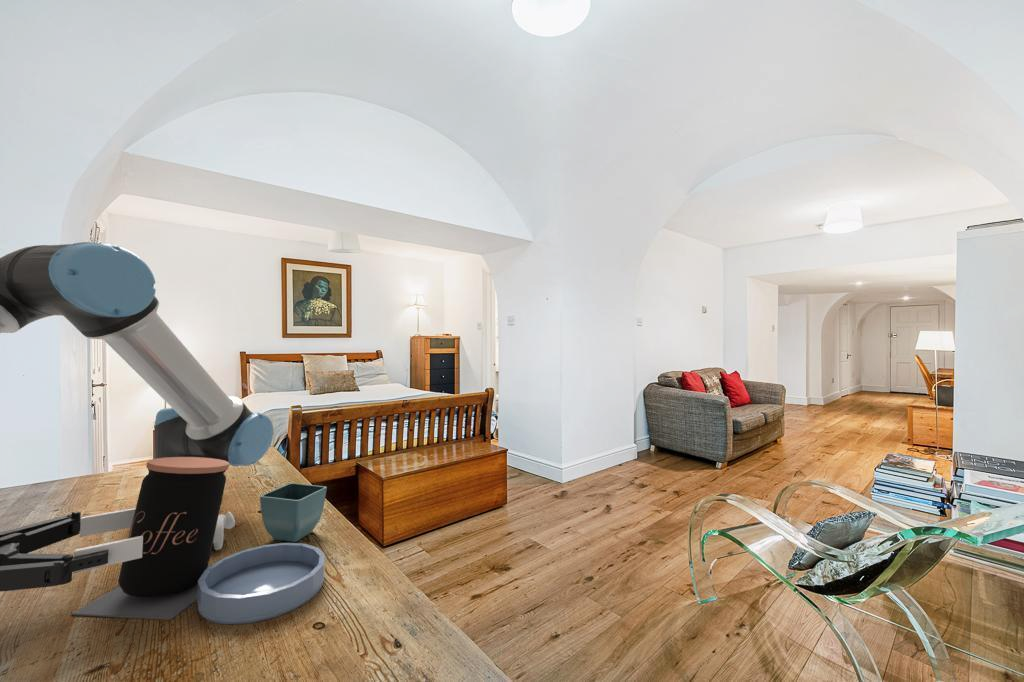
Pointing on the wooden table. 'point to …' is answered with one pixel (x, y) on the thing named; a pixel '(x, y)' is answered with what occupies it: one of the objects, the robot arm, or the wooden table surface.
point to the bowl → (260, 583)
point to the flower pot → (292, 510)
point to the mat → (139, 605)
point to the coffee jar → (174, 525)
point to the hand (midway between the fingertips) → (140, 530)
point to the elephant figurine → (222, 529)
